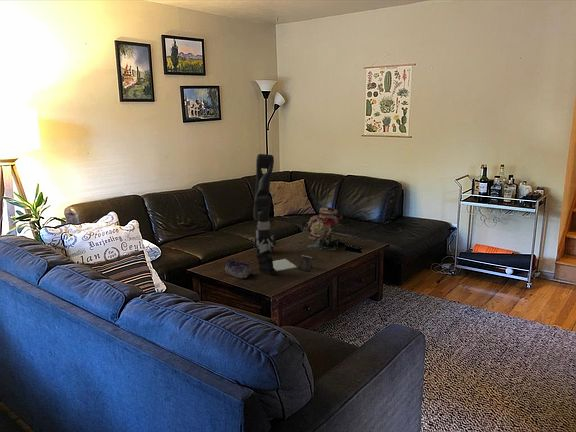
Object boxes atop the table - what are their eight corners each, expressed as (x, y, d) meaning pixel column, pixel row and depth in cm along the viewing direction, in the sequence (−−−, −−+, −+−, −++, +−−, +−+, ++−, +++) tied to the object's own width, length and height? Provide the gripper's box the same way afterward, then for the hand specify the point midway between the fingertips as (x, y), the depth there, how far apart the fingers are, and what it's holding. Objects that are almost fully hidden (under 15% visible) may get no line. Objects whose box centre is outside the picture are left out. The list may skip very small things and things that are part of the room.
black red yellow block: (273, 274, 282) (265, 250, 284) (261, 278, 292) (254, 255, 294) (277, 272, 285) (270, 249, 286) (266, 276, 295) (258, 254, 296)
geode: (218, 274, 290) (218, 259, 289) (231, 271, 299) (231, 256, 298) (242, 279, 278) (242, 263, 277) (255, 276, 287) (255, 260, 286)
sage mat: (266, 263, 308) (266, 262, 308) (285, 259, 314) (285, 258, 314) (277, 271, 292) (277, 270, 292) (297, 267, 298) (297, 266, 298)
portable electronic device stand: (296, 269, 295) (296, 256, 293) (304, 265, 301) (304, 253, 299) (307, 272, 289) (307, 259, 287) (315, 268, 295) (315, 256, 293)
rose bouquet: (311, 240, 358) (311, 202, 351) (348, 243, 346) (348, 204, 339) (298, 249, 335) (297, 209, 328) (337, 253, 323) (336, 211, 316)
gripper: (272, 225, 291) (273, 249, 294) (250, 228, 285) (252, 253, 288) (277, 227, 284) (278, 253, 288) (255, 230, 278) (256, 256, 282)
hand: (265, 253), depth 288 cm, fingers open, 8 cm apart
